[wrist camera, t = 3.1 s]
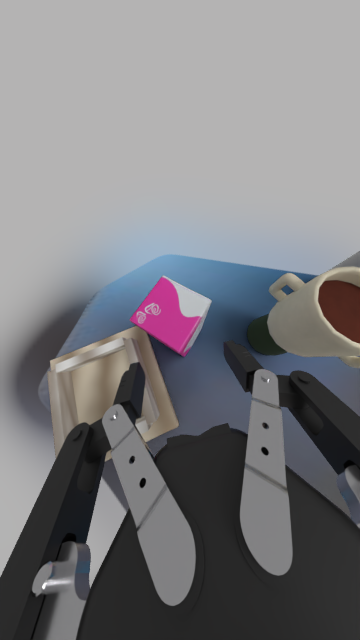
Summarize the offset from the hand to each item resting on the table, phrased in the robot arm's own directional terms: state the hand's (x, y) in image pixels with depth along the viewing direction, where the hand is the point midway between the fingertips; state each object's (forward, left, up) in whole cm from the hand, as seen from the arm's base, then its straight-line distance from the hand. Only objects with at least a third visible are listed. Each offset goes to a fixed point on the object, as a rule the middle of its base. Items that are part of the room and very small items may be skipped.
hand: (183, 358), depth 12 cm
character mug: (-14, +2, -10) cm, 17 cm away
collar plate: (+12, 0, -10) cm, 16 cm away
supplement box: (-1, -4, -10) cm, 11 cm away
